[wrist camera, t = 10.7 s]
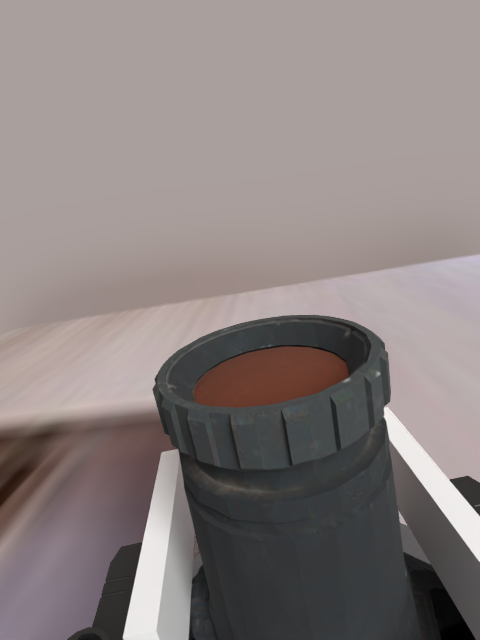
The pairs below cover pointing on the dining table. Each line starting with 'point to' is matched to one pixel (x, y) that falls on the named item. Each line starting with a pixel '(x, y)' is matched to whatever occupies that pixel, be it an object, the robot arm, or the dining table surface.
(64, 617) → the dining table surface
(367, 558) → the scope
